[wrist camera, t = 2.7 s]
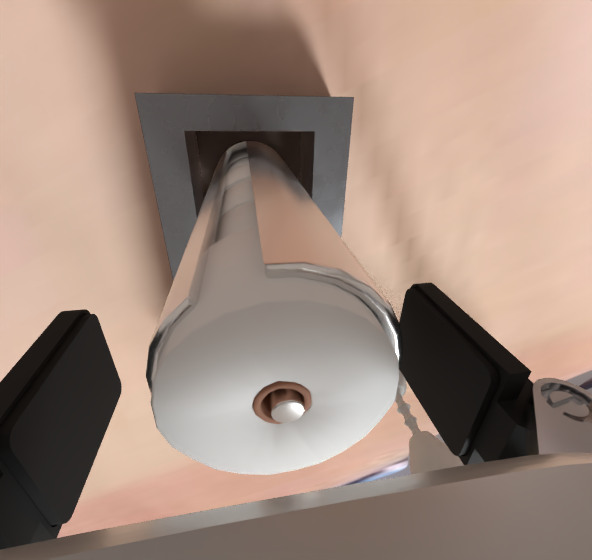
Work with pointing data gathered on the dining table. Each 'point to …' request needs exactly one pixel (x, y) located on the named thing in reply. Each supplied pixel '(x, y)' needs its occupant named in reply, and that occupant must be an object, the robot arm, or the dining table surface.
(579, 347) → the dining table surface
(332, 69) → the dining table surface
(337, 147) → the dock
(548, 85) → the dining table surface
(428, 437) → the chalice
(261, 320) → the silver long cylinder
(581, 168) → the dining table surface
